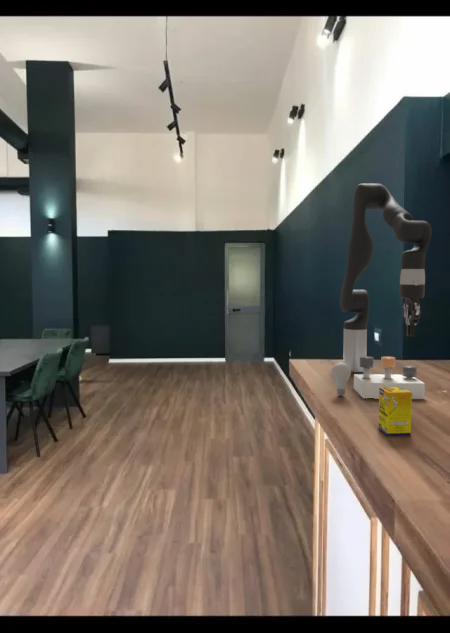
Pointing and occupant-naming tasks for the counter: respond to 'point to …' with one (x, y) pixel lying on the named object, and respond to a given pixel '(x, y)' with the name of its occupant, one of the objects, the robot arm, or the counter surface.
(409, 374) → the charcoal knob
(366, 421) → the counter surface
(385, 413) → the supplement box
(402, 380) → the mounting board
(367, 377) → the charcoal knob
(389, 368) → the middle terracotta knob
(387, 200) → the robot arm
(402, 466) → the counter surface
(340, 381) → the lightbulb
